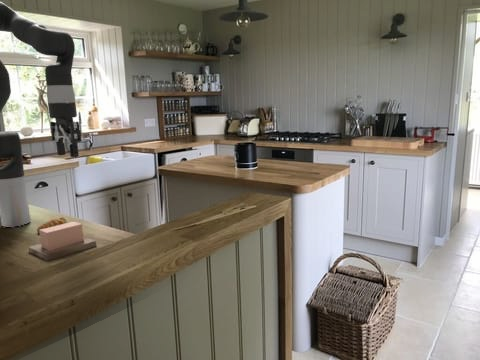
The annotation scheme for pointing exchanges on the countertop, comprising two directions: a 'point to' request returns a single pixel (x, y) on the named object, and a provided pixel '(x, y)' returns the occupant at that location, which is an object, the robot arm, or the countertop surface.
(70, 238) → the tall block
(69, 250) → the walnut board
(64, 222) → the pastry
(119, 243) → the countertop surface
